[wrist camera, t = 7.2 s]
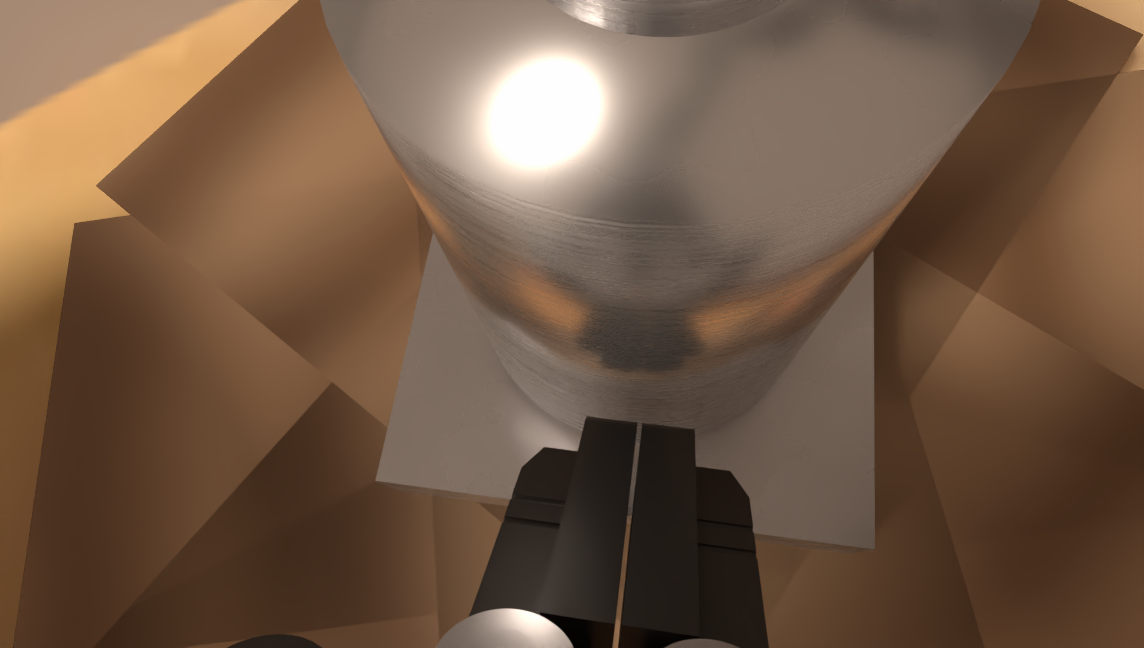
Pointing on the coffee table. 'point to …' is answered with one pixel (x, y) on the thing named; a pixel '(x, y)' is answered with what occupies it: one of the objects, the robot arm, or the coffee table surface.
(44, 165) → the coffee table surface
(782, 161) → the silver post on plate
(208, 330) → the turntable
